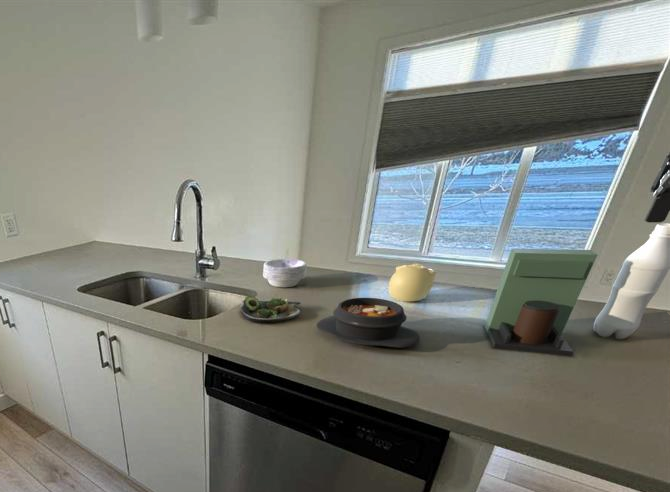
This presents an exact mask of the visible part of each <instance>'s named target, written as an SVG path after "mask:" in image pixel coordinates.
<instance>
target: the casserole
mask: <svg viewBox="0 0 670 492" xmlns="http://www.w3.org/2000/svg"><path fill="white" fill-rule="evenodd" d="M406 321H407V315H406V314H405V310H404V307H403V306H402V305H400V304H399V303H397V302H395V301H393V300H388V299H383V298H378V297H377V298H376V297H354V298H347V299H344V300H343V301H340V302H339V303H338V305H337V307H336V308H335V309H334V310H333V312H332V315H329V316H326V317H324V318H322V319H320V320H319V321H317V323H316V328H317V329H318V330H320V331H323V332H324V333H328V334H330V335H331V336H333V337H335V338H336V339H339V340H341V341H344V342H346V343H350V344H356V345H360V346H361V345H362V346H373V347H378V346H379V347H386V348H387V347H389V348H395V349H396V348H397V349H401V348H403V349H404V348H407V347H412V346H414V345H417V344H418V343H419V342H420V340H421V334H420V333H419V332H418V331H416V330H414V329H412V328H409V327H405V326H403V324H404V323H405V322H406Z"/></svg>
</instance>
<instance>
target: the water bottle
mask: <svg viewBox="0 0 670 492" xmlns="http://www.w3.org/2000/svg"><path fill="white" fill-rule="evenodd" d="M669 272H670V223H668V222H667V223H665V222H660V223H657V224H656V225H655V227H654V229H653V231H651V233H650V234H649V238H648V239H647V241H646V242H645V243H644V244H642V245H641V246H639V248H637V249H636V250H635V251H633V252H632V253H631V254H629V255H628V256H627V258H626V259H625V260H623V262H622V266H621V268H620V270H619V273H618V274H617V277H616V279H615V280H614V283H612V287H611V290H610V294H609V297H608V299H607V301H606V302H605V305H604V306H603V307H602V309H601V311H600V312H599V314H597V316H596V317H595V320H594V322H593V332H594V333H597V334H598V335H599V336H601V337H603V338H609V337H611V336H612V335H613V334H614V336H615V339H617V340H623V339H626V338H628V337H630V336H631V335H633V333H635V331H636V330H638V328H639V327H640V325H641V322H642V319H643V315H644V312H645V310H646V308H647V307H648V305H649V304H650V302H651V300H653V297H654V296H655V295H656V294H657V292H659V289H660V287H661V285H662V284H663V281H664V280H665V278H666V276H667V275H668V273H669Z"/></svg>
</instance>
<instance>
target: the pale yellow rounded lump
mask: <svg viewBox="0 0 670 492" xmlns="http://www.w3.org/2000/svg"><path fill="white" fill-rule="evenodd" d="M436 274H437V271H436V270H434V269H432V268H428V267H427V266H424V265H423V264H421V263H413V264H404V265H399V266H396V267H395V272H394V273H393V275H392V276H391V277H390V279H389V283H388V293H389V295H390V297H392V298H393V299H394V300H397V301H401V302H417V301H422V300H423V299H425V298H426V297H427V296H428V295H429V293H430V292H431V290H432V288H433V285H434V284H435V283H434V282H435V277H436Z"/></svg>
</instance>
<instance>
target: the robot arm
mask: <svg viewBox="0 0 670 492" xmlns="http://www.w3.org/2000/svg"><path fill="white" fill-rule="evenodd" d="M649 191H650V192H649V193H653V195H652V197H653V198H654V199H653V202H652V203H651V205H650V208H649V210H648V211H647V214H646V216H645V218H644V222H646V223H651V224H652V223H664V221H666V219H667V217H668V216H669V213H670V151H669V152H668V153H667V155H666V156H665V158H664V160H663V162H662V164H661V167H660V169H659V171H658V173H657V175H656V177H655V179H654V180H653V183H652V185H651V187H650V189H649Z"/></svg>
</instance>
